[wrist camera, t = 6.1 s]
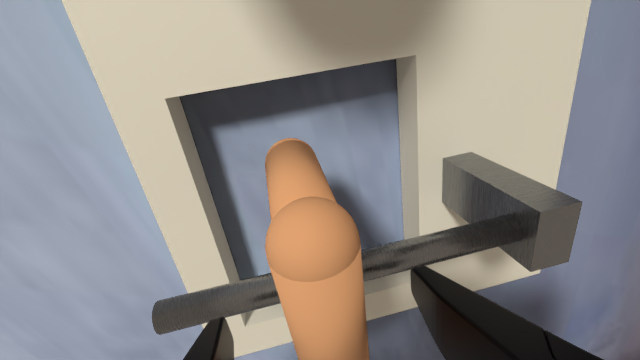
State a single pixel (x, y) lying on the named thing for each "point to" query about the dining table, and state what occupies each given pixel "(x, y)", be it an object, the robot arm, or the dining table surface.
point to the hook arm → (425, 240)
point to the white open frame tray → (327, 54)
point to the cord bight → (314, 257)
